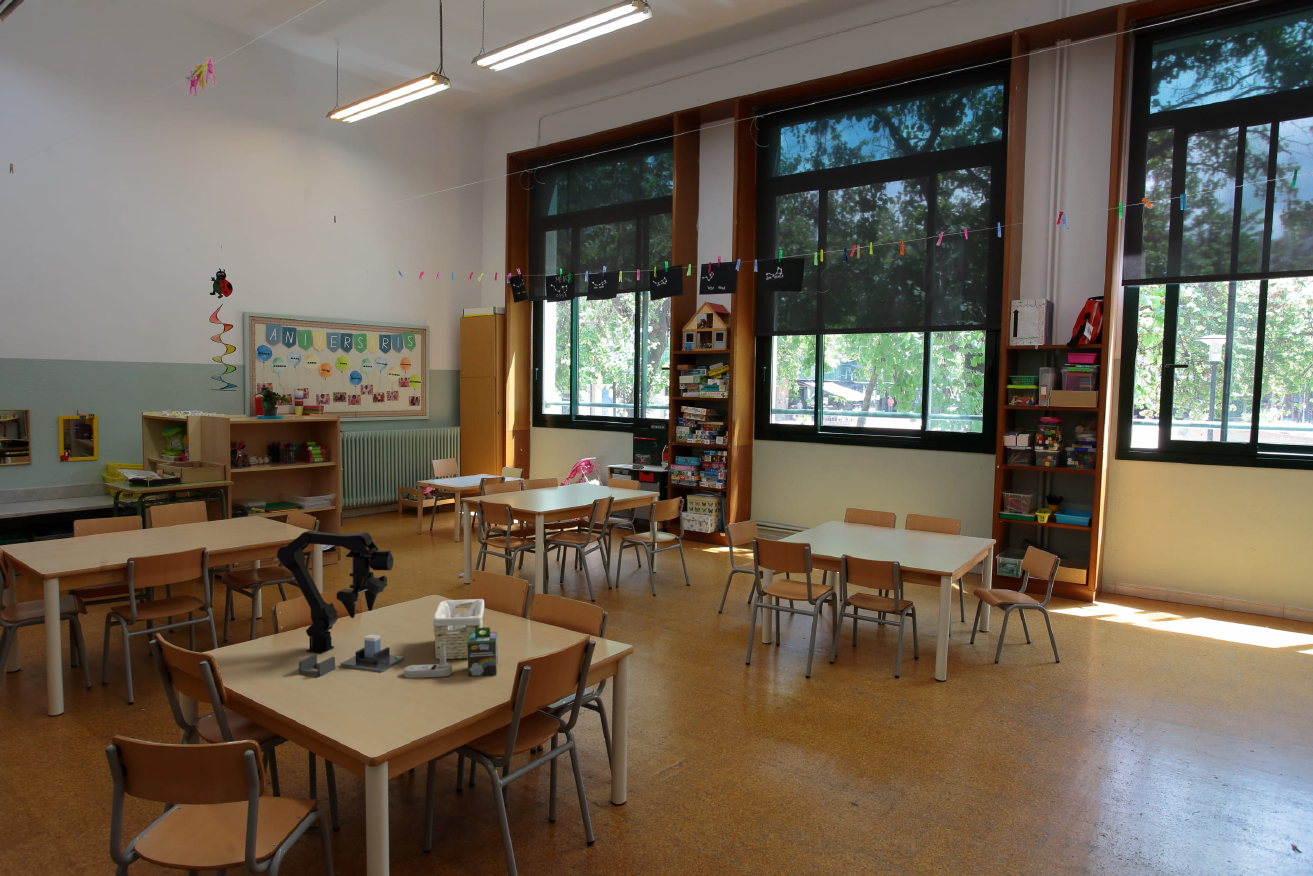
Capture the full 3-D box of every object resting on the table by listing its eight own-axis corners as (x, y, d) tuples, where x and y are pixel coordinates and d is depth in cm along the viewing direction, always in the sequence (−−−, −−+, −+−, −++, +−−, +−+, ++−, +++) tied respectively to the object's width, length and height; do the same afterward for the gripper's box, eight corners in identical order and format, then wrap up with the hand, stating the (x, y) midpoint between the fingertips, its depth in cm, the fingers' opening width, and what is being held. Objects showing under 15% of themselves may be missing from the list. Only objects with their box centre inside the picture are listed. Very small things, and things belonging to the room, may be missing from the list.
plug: (364, 660, 256) (364, 637, 255) (370, 657, 258) (370, 634, 258) (375, 662, 254) (374, 638, 254) (380, 659, 257) (380, 635, 257)
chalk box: (498, 665, 256) (498, 621, 255) (496, 675, 247) (496, 630, 246) (469, 666, 254) (469, 622, 253) (467, 677, 245) (467, 631, 244)
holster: (298, 673, 246) (298, 661, 246) (314, 666, 253) (314, 654, 253) (320, 676, 244) (319, 664, 244) (335, 669, 251) (334, 657, 250)
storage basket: (440, 638, 282) (439, 599, 281) (485, 637, 285) (485, 597, 284) (432, 662, 258) (431, 618, 257) (481, 660, 261) (481, 617, 260)
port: (340, 666, 253) (340, 653, 253) (363, 654, 264) (363, 641, 264) (382, 672, 248) (382, 658, 248) (404, 659, 260) (404, 646, 260)
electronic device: (405, 643, 249) (452, 642, 249) (406, 673, 249) (453, 671, 250) (400, 649, 243) (448, 647, 244) (402, 679, 244) (450, 677, 245)
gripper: (363, 578, 255) (363, 624, 256) (397, 565, 273) (398, 609, 274) (335, 575, 258) (335, 621, 259) (371, 563, 276) (371, 606, 277)
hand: (361, 614), depth 267 cm, fingers open, 9 cm apart
